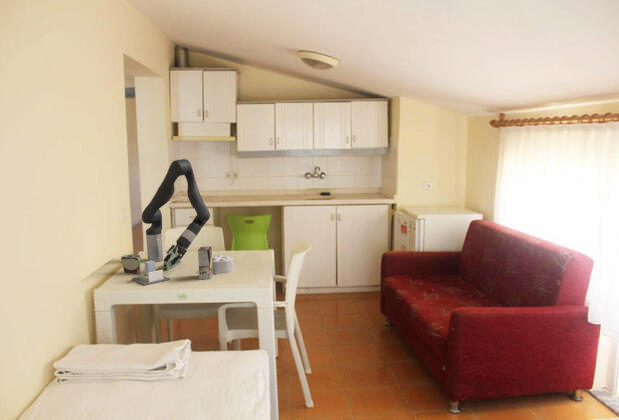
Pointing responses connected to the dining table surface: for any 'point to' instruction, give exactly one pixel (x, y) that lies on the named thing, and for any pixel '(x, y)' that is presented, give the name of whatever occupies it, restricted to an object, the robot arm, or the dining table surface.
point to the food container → (131, 264)
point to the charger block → (149, 267)
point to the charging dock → (151, 278)
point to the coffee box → (205, 262)
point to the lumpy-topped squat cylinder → (222, 264)
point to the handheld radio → (168, 264)
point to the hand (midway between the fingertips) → (168, 262)
